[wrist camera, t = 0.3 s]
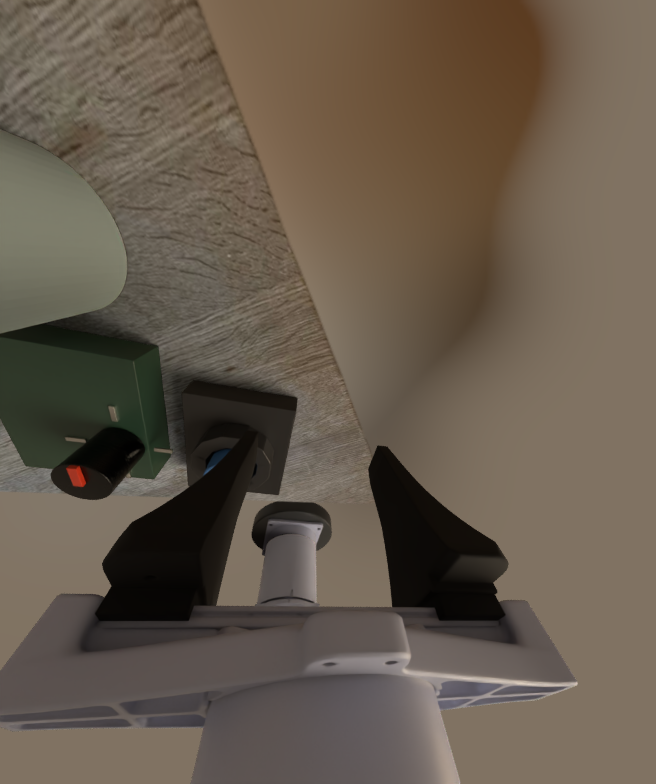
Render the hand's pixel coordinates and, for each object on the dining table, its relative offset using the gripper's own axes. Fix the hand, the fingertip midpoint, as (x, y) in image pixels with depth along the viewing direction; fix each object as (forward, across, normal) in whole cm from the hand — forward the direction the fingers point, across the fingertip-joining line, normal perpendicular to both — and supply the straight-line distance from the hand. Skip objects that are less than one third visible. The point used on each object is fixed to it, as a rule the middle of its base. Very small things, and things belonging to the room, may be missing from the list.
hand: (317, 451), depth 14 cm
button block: (+8, +6, +7) cm, 12 cm away
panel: (+8, +18, +4) cm, 20 cm away
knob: (+5, +15, +6) cm, 17 cm away
